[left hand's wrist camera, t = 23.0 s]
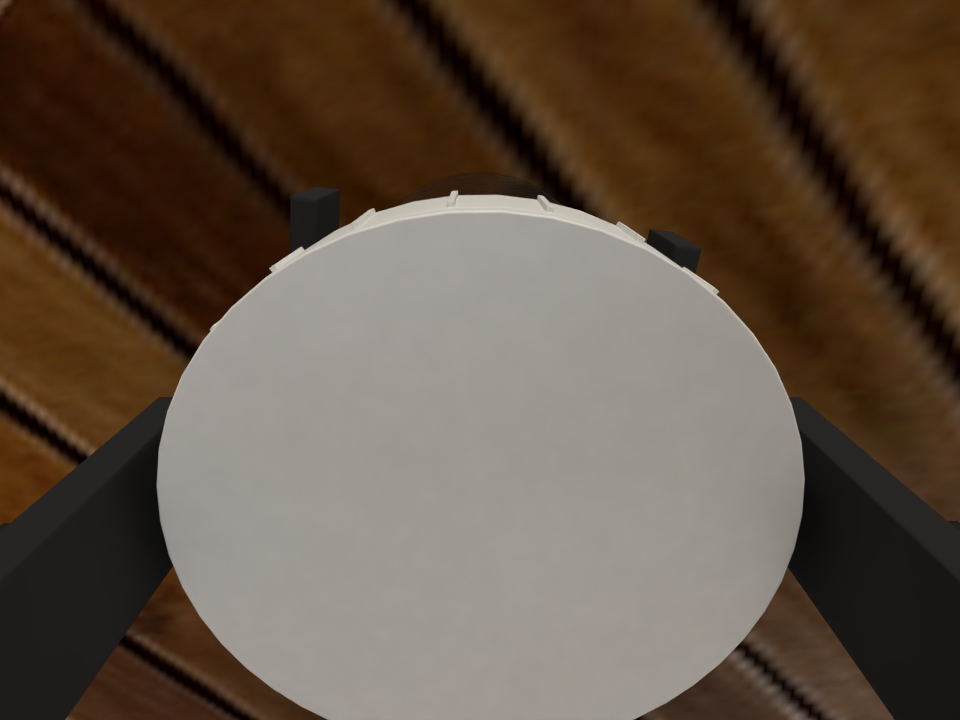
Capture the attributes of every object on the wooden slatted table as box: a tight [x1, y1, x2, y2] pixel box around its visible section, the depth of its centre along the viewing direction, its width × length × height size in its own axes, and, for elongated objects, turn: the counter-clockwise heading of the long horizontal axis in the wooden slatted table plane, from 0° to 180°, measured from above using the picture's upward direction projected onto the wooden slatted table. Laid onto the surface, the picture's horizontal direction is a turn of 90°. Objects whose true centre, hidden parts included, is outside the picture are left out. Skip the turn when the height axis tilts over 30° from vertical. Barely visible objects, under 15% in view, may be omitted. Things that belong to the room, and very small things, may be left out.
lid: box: [157, 191, 805, 720], centre depth 11 cm, size 11×11×2 cm
